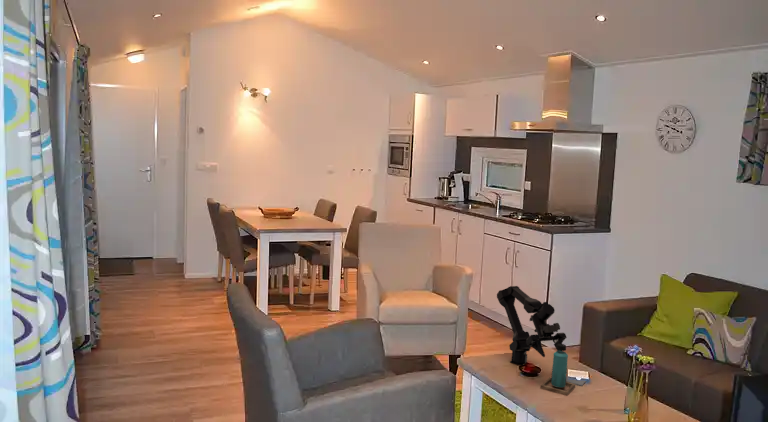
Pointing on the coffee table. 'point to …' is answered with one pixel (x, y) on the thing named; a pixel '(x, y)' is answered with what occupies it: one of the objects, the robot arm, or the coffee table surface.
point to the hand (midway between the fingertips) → (552, 356)
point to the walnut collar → (571, 387)
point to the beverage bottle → (559, 366)
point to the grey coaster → (576, 382)
